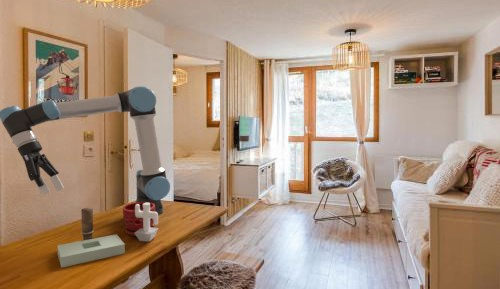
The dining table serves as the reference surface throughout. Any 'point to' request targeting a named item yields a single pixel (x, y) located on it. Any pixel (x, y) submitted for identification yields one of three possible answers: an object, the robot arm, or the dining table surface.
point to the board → (90, 250)
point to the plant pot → (131, 220)
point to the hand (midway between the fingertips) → (54, 191)
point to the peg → (87, 223)
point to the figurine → (146, 222)
